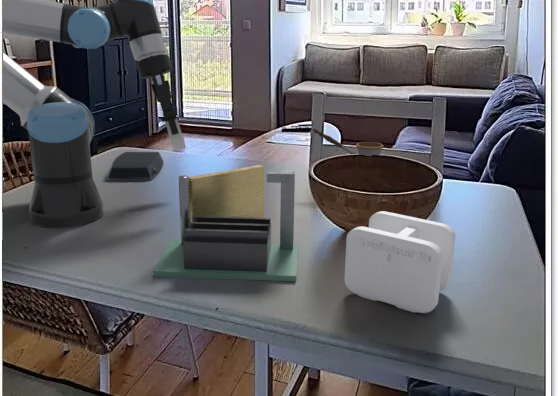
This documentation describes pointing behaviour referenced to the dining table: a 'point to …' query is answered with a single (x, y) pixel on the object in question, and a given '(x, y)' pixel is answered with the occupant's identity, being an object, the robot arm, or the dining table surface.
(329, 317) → the dining table surface
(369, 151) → the coffee pot
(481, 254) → the dining table surface
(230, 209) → the brass plate
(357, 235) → the cable organizer
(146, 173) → the external hard drive
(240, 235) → the grey slotted rack
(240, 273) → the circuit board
